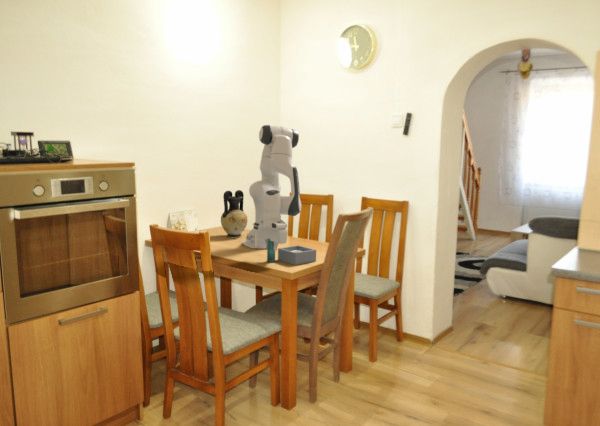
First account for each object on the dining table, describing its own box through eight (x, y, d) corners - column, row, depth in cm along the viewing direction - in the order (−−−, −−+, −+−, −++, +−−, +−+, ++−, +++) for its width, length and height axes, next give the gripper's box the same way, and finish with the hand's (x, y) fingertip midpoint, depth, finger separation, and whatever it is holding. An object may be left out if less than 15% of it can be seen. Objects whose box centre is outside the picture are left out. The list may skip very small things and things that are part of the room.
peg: (265, 260, 239) (265, 237, 237) (271, 259, 242) (272, 237, 240) (270, 262, 236) (270, 239, 234) (276, 261, 239) (277, 238, 237)
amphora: (233, 233, 313) (233, 188, 309) (252, 236, 304) (253, 190, 300) (214, 236, 299) (214, 190, 295) (234, 240, 289) (235, 192, 285)
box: (277, 259, 243) (278, 248, 242) (298, 256, 252) (298, 245, 251) (295, 265, 232) (295, 253, 232) (315, 261, 242) (316, 249, 241)
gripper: (254, 220, 242) (254, 246, 244) (279, 226, 226) (278, 253, 228) (264, 219, 246) (264, 245, 248) (289, 225, 231) (288, 252, 233)
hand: (271, 249), depth 238 cm, fingers closed on peg, 4 cm apart
